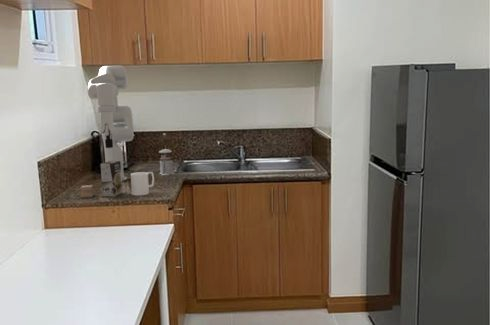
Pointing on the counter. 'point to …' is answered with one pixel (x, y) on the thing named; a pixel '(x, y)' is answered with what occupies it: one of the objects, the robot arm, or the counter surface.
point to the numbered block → (87, 191)
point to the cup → (140, 183)
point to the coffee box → (111, 178)
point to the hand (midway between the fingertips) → (109, 147)
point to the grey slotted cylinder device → (166, 163)
